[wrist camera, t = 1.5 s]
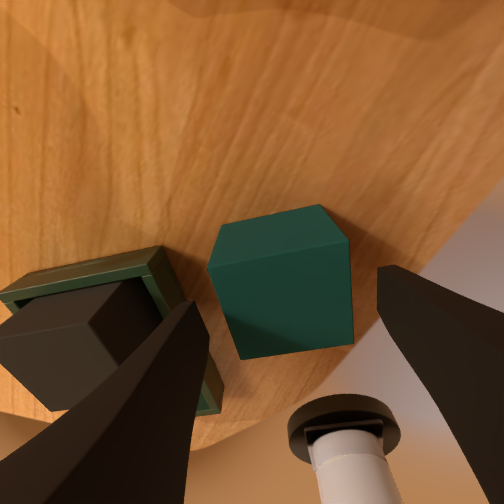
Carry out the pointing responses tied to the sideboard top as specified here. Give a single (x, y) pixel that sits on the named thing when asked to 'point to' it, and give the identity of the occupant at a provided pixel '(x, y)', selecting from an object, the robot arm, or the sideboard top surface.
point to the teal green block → (284, 282)
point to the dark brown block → (76, 339)
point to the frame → (114, 269)
